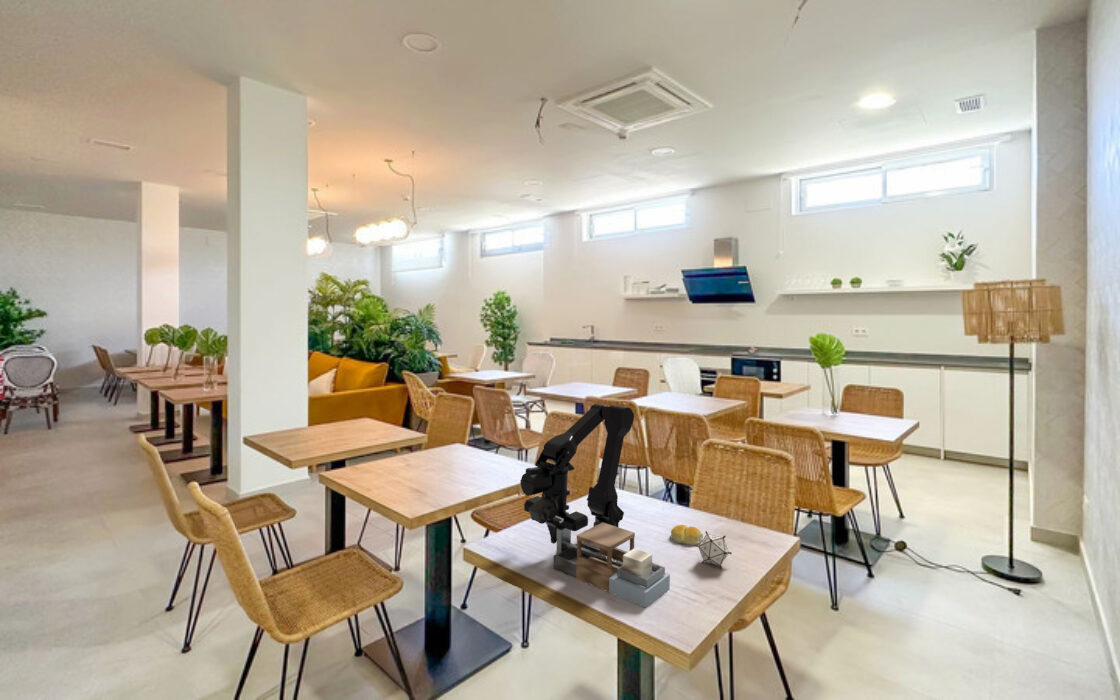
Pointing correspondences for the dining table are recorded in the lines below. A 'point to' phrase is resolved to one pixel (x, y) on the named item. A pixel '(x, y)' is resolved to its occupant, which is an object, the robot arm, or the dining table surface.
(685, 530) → the bread roll
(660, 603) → the dining table surface
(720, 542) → the game die
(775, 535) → the dining table surface
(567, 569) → the tunnel
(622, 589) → the pad
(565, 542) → the slider
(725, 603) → the dining table surface
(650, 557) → the block
